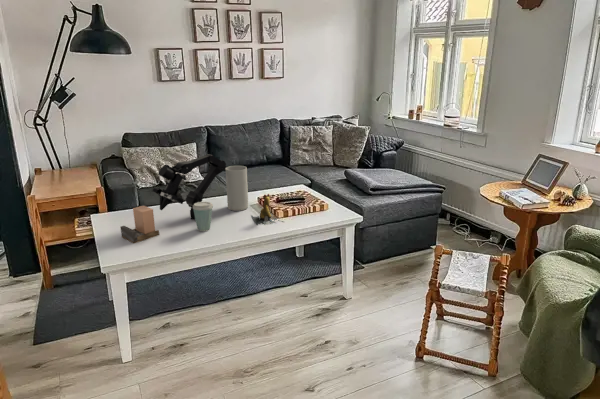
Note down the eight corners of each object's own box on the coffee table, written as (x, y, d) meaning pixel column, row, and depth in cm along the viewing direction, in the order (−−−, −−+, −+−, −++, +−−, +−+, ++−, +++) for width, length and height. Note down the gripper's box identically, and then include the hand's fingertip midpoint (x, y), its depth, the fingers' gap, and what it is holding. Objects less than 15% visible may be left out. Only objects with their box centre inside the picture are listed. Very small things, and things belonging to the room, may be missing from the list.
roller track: (146, 229, 242) (145, 219, 241) (159, 235, 235) (158, 224, 233) (121, 237, 232) (120, 226, 230) (134, 243, 225) (132, 232, 223)
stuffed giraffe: (256, 225, 247) (256, 197, 243) (250, 215, 264) (250, 189, 259) (284, 223, 252) (285, 196, 247) (277, 214, 268) (277, 188, 264)
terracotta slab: (145, 226, 240) (143, 205, 236) (155, 230, 234) (152, 209, 231) (135, 229, 236) (132, 208, 232) (145, 234, 230) (142, 212, 226)
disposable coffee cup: (192, 227, 245) (190, 201, 240) (212, 224, 249) (210, 198, 244) (196, 234, 236) (194, 207, 231) (216, 231, 240) (214, 204, 235)
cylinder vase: (247, 211, 269) (245, 170, 261) (226, 211, 269) (223, 170, 261) (249, 204, 281) (247, 165, 273) (229, 204, 281) (227, 165, 273)
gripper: (195, 194, 245) (182, 219, 242) (171, 185, 254) (158, 210, 251) (183, 186, 236) (169, 213, 232) (158, 177, 244) (145, 203, 241)
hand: (160, 209), depth 240 cm, fingers closed
